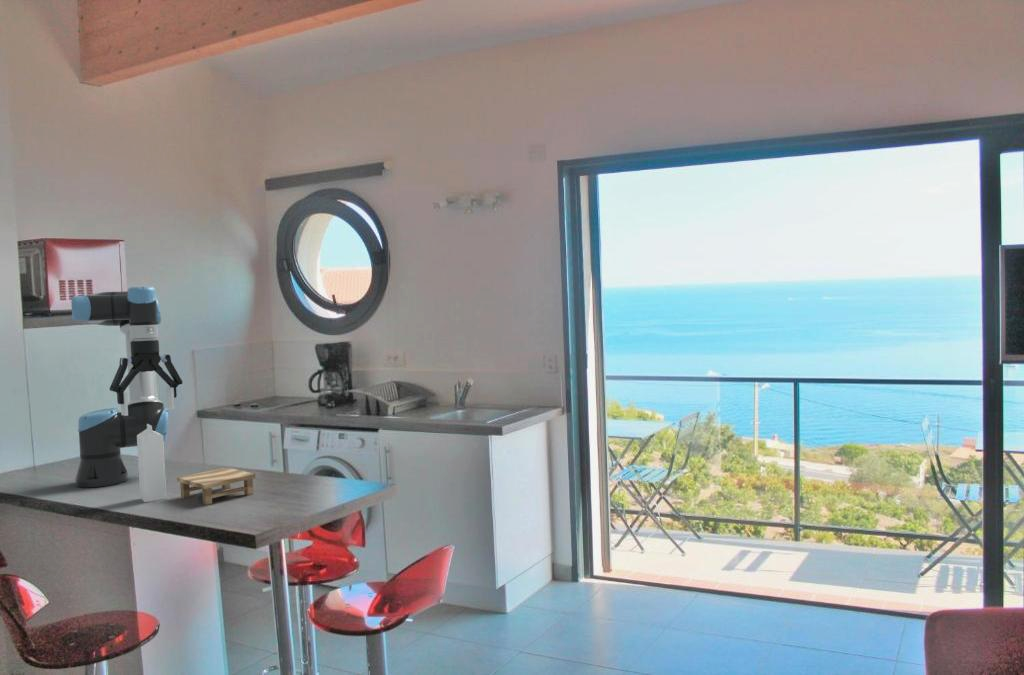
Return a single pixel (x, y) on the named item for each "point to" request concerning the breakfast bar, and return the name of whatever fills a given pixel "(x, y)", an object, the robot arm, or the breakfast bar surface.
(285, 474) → the breakfast bar surface
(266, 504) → the breakfast bar surface
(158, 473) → the milk
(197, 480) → the light brown square platform
